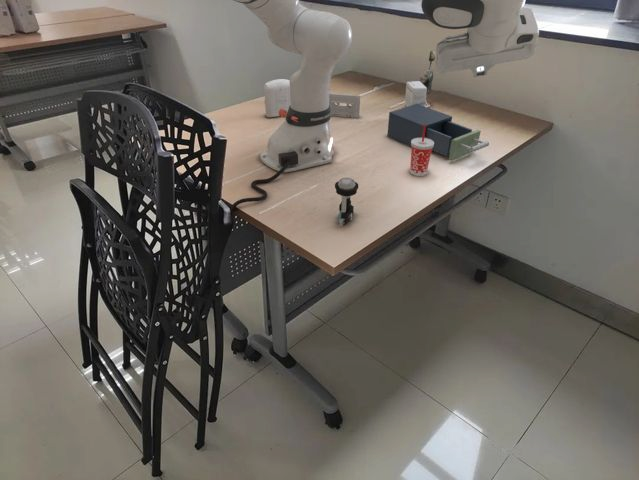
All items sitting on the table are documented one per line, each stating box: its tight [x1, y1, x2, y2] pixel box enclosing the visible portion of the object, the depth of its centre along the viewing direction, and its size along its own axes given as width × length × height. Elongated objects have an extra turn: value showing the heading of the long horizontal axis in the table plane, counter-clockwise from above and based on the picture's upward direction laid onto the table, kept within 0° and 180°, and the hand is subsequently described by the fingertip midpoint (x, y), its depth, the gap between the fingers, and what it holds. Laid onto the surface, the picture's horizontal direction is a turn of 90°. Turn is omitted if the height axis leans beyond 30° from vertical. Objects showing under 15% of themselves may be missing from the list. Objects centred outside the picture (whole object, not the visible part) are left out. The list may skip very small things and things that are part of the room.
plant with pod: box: [417, 50, 436, 108], centre depth 165 cm, size 8×11×20 cm
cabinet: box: [386, 104, 453, 148], centre depth 142 cm, size 15×13×8 cm
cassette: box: [329, 92, 361, 119], centre depth 159 cm, size 12×2×8 cm, turn 76°
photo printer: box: [263, 78, 290, 119], centre depth 159 cm, size 10×4×12 cm, turn 116°
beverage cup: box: [409, 124, 434, 177], centre depth 122 cm, size 6×6×14 cm
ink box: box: [403, 80, 427, 108], centre depth 156 cm, size 9×5×12 cm, turn 8°
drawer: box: [425, 120, 490, 162], centre depth 133 cm, size 18×11×6 cm, turn 38°
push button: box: [334, 177, 359, 227], centre depth 104 cm, size 7×5×10 cm
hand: (479, 73), depth 103 cm, fingers closed
